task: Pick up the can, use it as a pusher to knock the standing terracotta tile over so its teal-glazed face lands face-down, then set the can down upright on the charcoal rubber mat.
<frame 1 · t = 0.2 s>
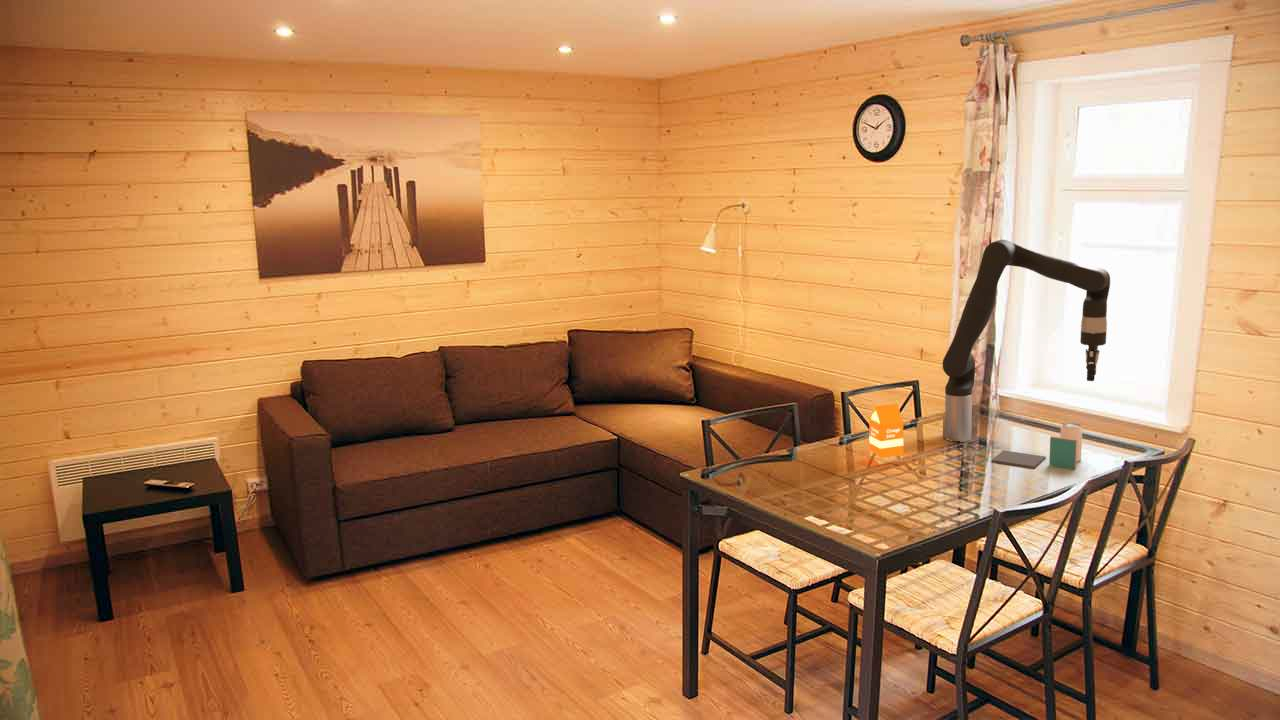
hand: (1091, 377, 299), 28 cm above the table, tool pointing down, fingers open, 8 cm apart
orange juice: (886, 461, 314), on the table
mat: (1018, 460, 306), on the table
tile: (1062, 467, 297), on the table
can: (1070, 460, 304), on the table
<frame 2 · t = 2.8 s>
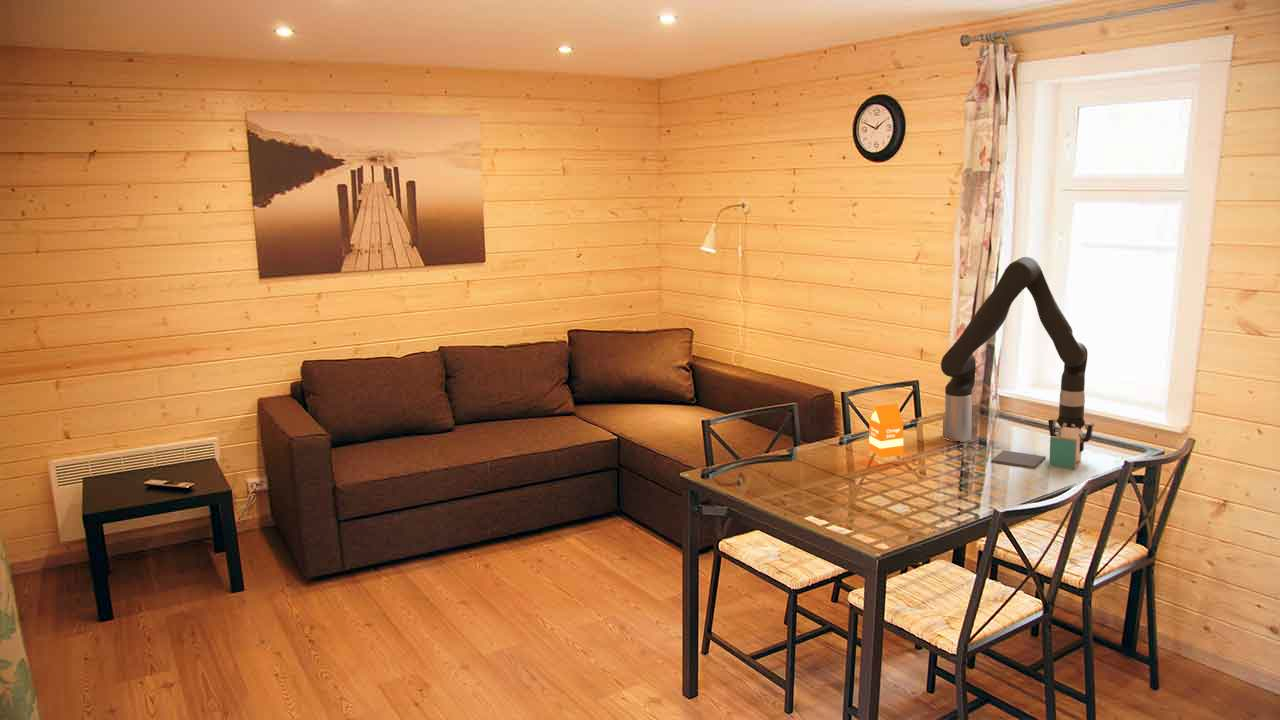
hand: (1069, 450, 303), 3 cm above the table, tool pointing down, fingers closed on can, 5 cm apart
can: (1070, 460, 304), on the table, touching gripper
everything else where it was.
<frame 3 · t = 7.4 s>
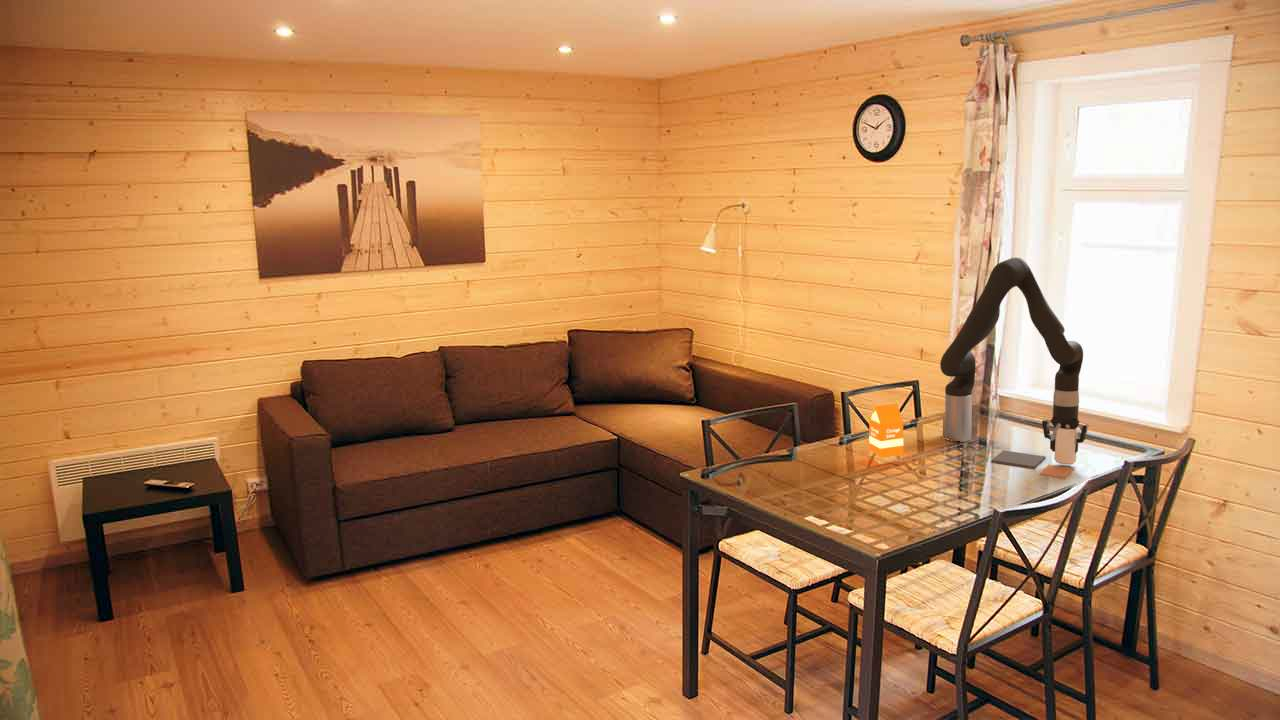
hand: (1063, 452, 296), 5 cm above the table, tool pointing down, fingers closed on can, 5 cm apart
tile: (1061, 467, 296), on the table, tilted 90°
can: (1064, 461, 297), point 2 cm above the table, touching gripper
everything else where it was.
when the fingers open (5 cm above the table, at t = 12.8 s): can drops 1 cm, resting on mat.
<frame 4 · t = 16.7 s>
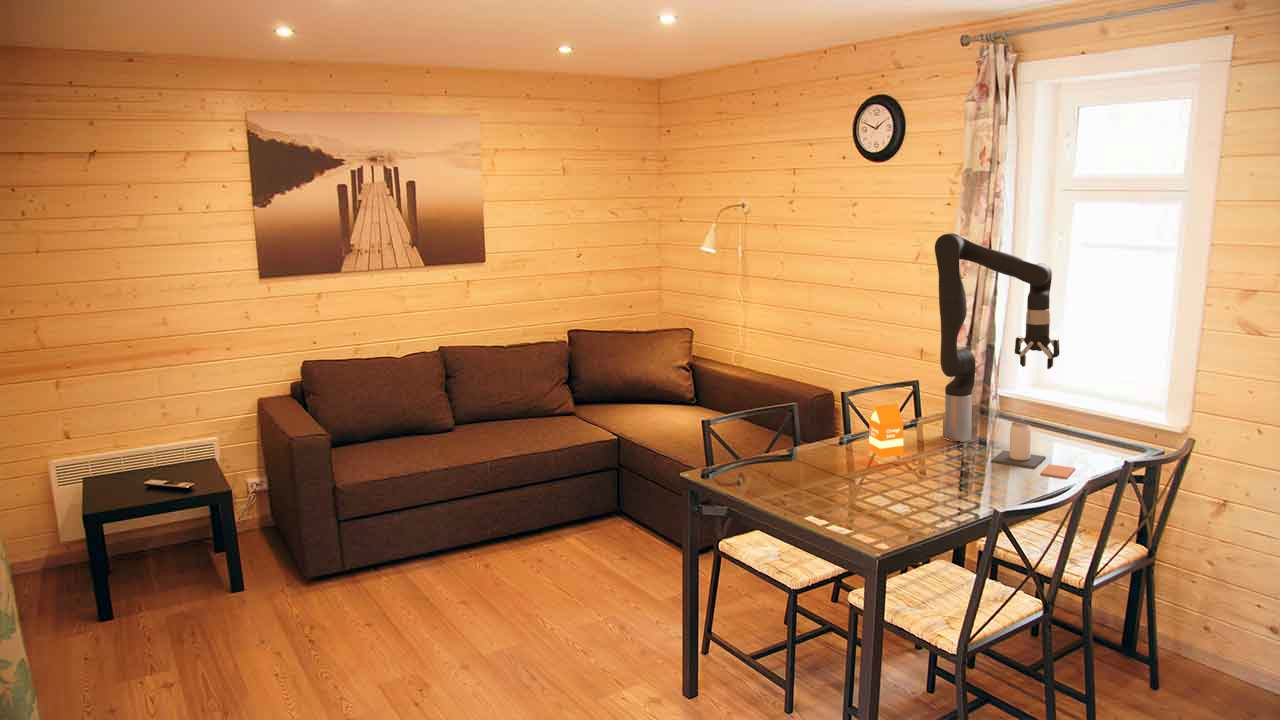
hand: (1036, 367, 315), 28 cm above the table, tool pointing down, fingers open, 8 cm apart
can: (1019, 458, 306), point 1 cm above the table, touching mat
everything else where it was.
at the end: tile tilted 90°; can inside the target area on the mat (0.4 cm from its centre), point 0.6 cm above the mat's base; can tilted 0° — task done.
